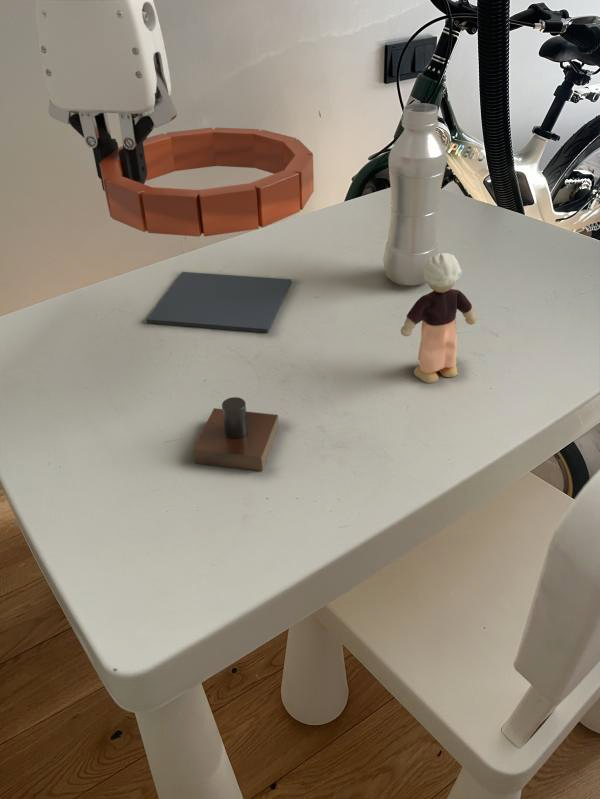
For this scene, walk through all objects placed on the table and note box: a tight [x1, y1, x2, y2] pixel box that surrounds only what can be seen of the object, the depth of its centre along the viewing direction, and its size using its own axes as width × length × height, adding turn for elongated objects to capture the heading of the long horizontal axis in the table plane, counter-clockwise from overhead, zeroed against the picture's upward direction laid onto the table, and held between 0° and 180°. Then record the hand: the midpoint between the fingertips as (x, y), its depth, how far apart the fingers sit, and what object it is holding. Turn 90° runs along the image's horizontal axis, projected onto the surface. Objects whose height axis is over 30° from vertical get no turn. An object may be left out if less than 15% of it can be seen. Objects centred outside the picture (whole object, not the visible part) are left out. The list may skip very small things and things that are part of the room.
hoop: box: [100, 127, 315, 238], centre depth 67 cm, size 19×19×3 cm
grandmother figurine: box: [400, 252, 477, 384], centre depth 69 cm, size 8×4×13 cm, turn 121°
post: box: [192, 396, 280, 472], centre depth 63 cm, size 6×6×4 cm
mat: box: [146, 271, 292, 334], centre depth 86 cm, size 14×12×1 cm
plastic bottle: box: [382, 102, 448, 286], centre depth 83 cm, size 6×7×20 cm
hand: (124, 185), depth 69 cm, fingers closed on hoop, 1 cm apart
